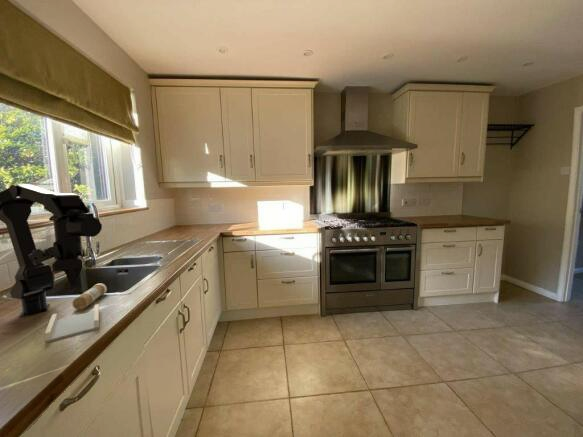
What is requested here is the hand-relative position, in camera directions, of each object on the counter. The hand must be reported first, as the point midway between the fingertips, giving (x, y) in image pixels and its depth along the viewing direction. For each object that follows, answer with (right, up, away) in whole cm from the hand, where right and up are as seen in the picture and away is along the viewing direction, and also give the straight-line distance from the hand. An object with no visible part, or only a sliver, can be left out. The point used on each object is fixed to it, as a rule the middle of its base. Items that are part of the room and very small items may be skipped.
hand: (73, 285), depth 76 cm
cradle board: (+4, -11, -3) cm, 12 cm away
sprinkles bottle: (-3, -8, +6) cm, 10 cm away
